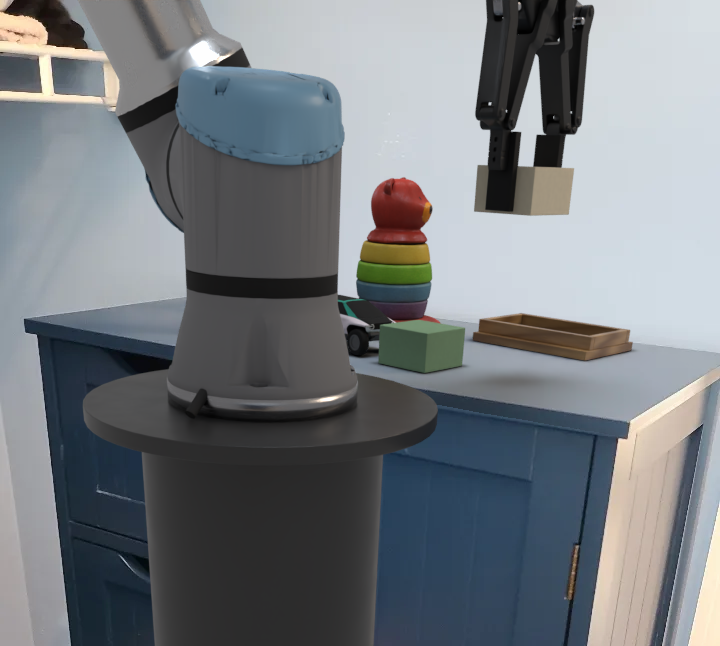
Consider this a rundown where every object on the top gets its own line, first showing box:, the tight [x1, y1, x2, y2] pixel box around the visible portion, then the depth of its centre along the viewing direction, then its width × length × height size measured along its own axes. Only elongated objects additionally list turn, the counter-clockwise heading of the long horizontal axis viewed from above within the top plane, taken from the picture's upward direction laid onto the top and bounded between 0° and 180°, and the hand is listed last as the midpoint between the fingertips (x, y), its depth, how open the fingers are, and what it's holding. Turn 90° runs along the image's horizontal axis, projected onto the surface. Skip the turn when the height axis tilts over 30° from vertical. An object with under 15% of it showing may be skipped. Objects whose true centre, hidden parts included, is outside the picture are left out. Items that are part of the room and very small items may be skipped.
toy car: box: [338, 294, 396, 356], centre depth 109 cm, size 6×12×5 cm, turn 40°
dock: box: [472, 312, 634, 362], centre depth 116 cm, size 11×16×2 cm
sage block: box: [377, 320, 466, 374], centre depth 102 cm, size 6×6×4 cm
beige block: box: [473, 164, 575, 217], centre depth 90 cm, size 6×6×4 cm
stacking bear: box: [355, 176, 441, 323], centre depth 116 cm, size 11×10×18 cm
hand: (521, 209), depth 91 cm, fingers closed on beige block, 6 cm apart
